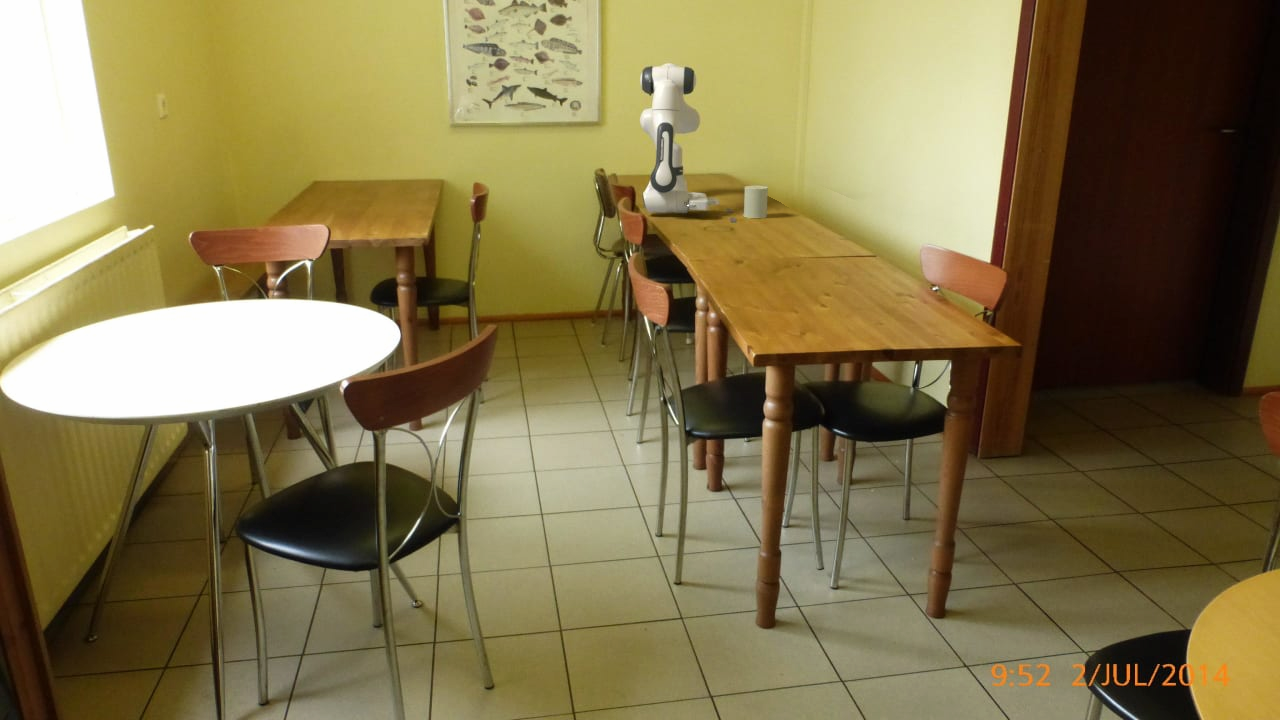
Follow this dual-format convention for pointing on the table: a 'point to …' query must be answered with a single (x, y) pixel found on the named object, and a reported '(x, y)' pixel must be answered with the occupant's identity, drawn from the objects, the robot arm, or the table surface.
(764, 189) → the can
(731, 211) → the strip
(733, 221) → the line strip
